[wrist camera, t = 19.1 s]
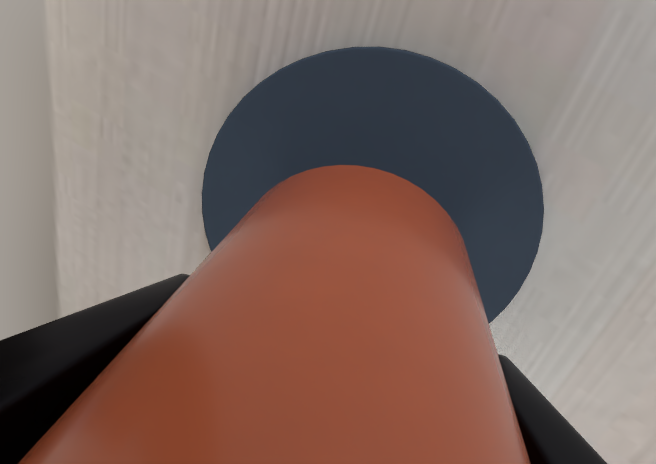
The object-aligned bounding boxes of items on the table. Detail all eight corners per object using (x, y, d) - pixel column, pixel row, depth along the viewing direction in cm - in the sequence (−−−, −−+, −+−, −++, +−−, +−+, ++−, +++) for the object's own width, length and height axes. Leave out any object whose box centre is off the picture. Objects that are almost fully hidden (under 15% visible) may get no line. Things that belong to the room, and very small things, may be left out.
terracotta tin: (428, 389, 11) (475, 1053, 4) (229, 336, 11) (-74, 845, 4) (507, 197, 8) (1098, 1093, 1) (248, 137, 9) (-424, 556, 2)
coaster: (469, 381, 14) (471, 394, 14) (202, 311, 15) (195, 321, 15) (604, 91, 10) (616, 94, 9) (219, 11, 11) (209, 10, 10)
